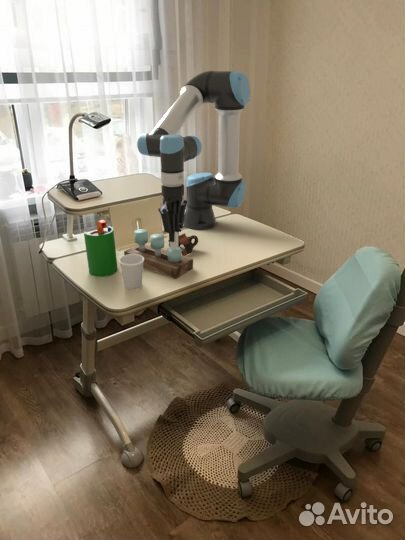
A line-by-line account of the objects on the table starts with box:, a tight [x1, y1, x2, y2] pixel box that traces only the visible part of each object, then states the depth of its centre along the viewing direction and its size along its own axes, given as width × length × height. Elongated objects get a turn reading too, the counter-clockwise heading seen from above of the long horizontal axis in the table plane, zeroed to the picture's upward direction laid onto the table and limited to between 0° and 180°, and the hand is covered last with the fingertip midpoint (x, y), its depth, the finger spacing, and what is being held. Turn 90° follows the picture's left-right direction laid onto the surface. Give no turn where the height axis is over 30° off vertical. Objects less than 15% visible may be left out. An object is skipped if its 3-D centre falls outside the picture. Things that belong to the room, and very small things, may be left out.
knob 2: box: [149, 233, 165, 258], centre depth 159 cm, size 5×5×8 cm
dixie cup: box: [118, 254, 144, 291], centre depth 146 cm, size 8×8×10 cm
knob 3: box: [167, 246, 182, 264], centre depth 156 cm, size 5×5×8 cm
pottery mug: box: [167, 233, 199, 257], centre depth 173 cm, size 12×10×8 cm
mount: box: [123, 243, 194, 280], centre depth 161 cm, size 10×25×4 cm, turn 54°
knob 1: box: [133, 228, 149, 252], centre depth 163 cm, size 5×5×8 cm
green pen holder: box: [83, 219, 119, 278], centre depth 153 cm, size 10×9×20 cm
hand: (174, 248), depth 154 cm, fingers closed
